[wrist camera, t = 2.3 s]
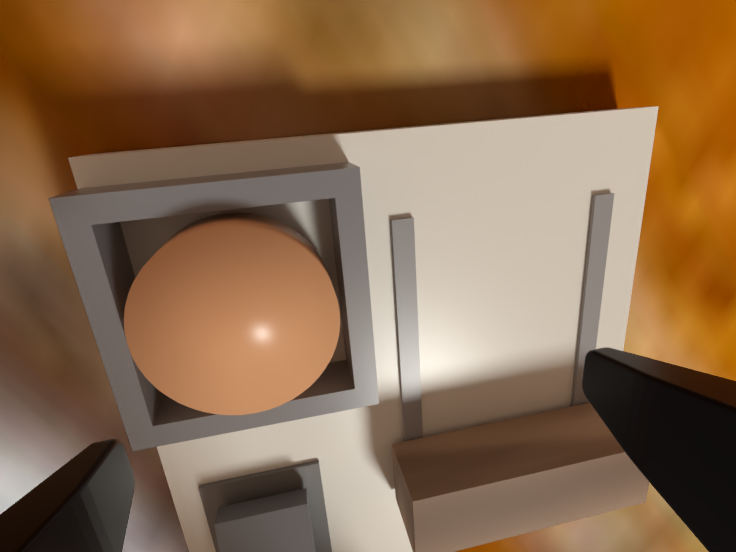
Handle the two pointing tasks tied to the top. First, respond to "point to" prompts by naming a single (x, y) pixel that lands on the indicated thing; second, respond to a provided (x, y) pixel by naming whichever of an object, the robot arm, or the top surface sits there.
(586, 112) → the panel
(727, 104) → the top surface
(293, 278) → the push button
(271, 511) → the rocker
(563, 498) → the slider bar
